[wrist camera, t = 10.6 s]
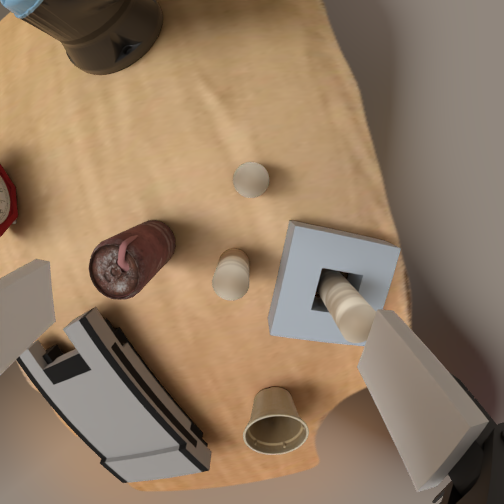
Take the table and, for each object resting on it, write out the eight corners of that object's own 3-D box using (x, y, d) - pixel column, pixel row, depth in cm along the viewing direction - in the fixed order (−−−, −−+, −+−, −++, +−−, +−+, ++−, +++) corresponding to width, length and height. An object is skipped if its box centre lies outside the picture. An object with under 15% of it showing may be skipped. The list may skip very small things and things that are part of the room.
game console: (106, 297, 42) (81, 320, 34) (213, 437, 49) (209, 470, 41) (34, 339, 44) (10, 360, 36) (132, 455, 51) (122, 482, 43)
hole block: (289, 219, 39) (295, 225, 35) (384, 240, 40) (400, 248, 35) (267, 318, 43) (270, 334, 38) (358, 330, 43) (369, 346, 38)
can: (182, 225, 39) (149, 249, 26) (170, 269, 41) (135, 312, 27) (140, 212, 39) (91, 229, 25) (130, 256, 40) (82, 290, 27)
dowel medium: (221, 246, 40) (215, 262, 32) (251, 251, 40) (252, 268, 33) (216, 274, 41) (209, 296, 33) (246, 280, 41) (245, 303, 33)
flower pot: (243, 418, 47) (242, 455, 39) (244, 377, 45) (243, 414, 37) (297, 418, 47) (303, 454, 39) (304, 377, 45) (313, 413, 37)
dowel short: (241, 160, 38) (241, 156, 33) (270, 172, 38) (274, 170, 33) (228, 188, 38) (227, 189, 33) (257, 200, 39) (260, 203, 34)
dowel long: (317, 263, 41) (348, 304, 27) (344, 268, 41) (384, 309, 27) (309, 291, 42) (336, 341, 28) (336, 295, 42) (371, 344, 28)
